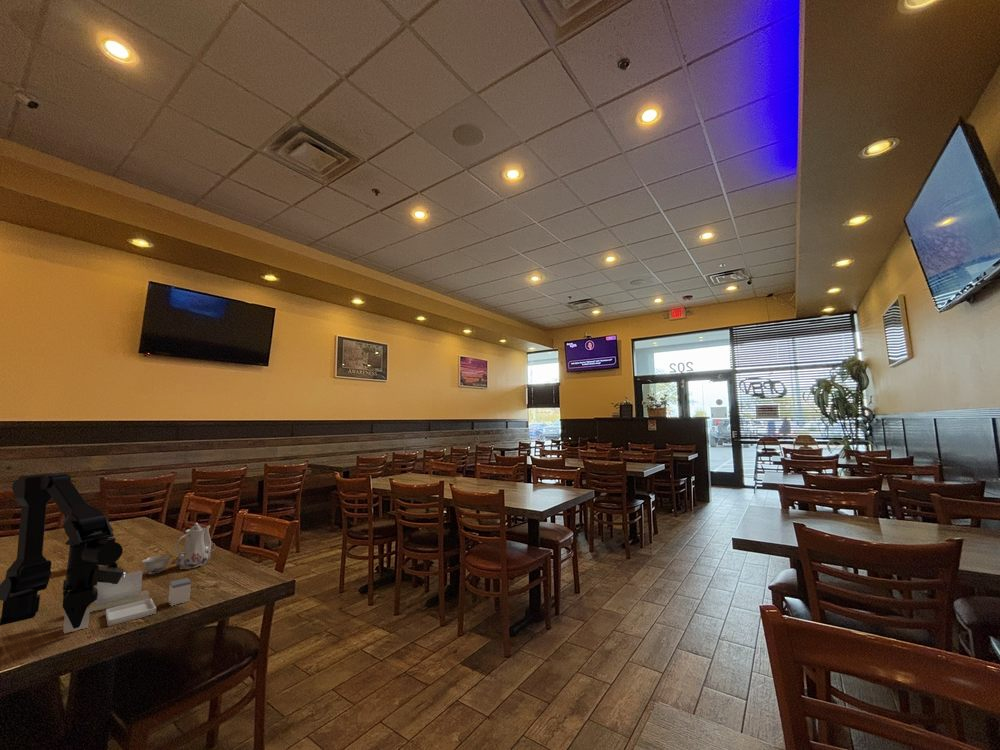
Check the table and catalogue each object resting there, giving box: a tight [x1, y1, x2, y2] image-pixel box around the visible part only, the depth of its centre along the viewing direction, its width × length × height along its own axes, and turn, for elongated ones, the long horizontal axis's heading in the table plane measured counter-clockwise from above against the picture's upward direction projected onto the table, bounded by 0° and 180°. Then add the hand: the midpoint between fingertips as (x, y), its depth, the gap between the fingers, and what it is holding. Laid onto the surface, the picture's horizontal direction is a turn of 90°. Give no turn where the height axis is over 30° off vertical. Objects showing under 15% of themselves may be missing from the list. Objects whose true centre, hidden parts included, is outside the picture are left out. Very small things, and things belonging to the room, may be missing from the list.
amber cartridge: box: [62, 605, 91, 633], centre depth 109 cm, size 4×4×6 cm
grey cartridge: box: [167, 577, 192, 607], centre depth 125 cm, size 4×4×6 cm
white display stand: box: [90, 570, 150, 613], centre depth 124 cm, size 14×4×9 cm, turn 137°
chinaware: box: [141, 521, 217, 575], centre depth 157 cm, size 28×17×17 cm, turn 175°
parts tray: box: [105, 597, 157, 627], centre depth 117 cm, size 10×10×2 cm
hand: (76, 622), depth 109 cm, fingers open, 8 cm apart
